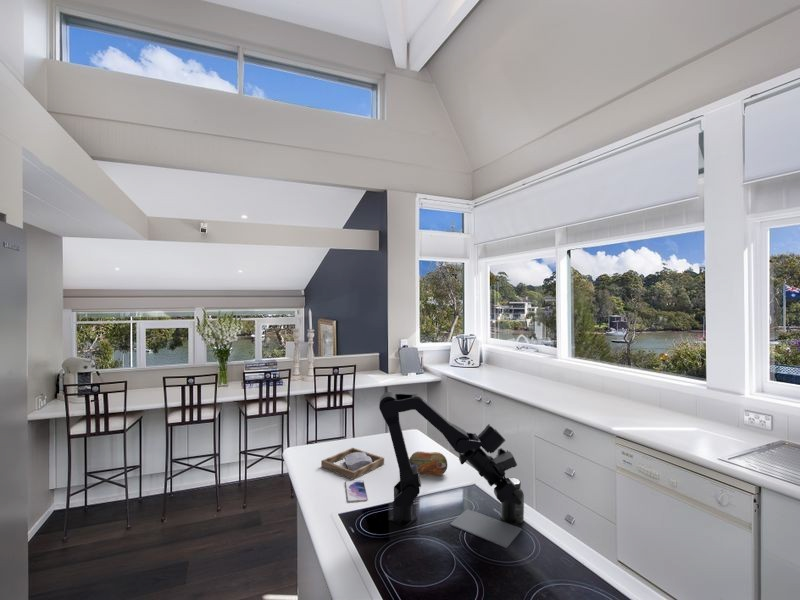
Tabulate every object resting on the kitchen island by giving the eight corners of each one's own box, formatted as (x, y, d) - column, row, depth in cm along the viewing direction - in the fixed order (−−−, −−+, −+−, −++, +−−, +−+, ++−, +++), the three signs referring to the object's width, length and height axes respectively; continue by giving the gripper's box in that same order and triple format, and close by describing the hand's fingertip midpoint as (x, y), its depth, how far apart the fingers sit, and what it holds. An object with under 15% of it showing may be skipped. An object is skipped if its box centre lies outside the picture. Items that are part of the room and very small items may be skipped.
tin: (408, 474, 157) (408, 452, 157) (409, 470, 160) (409, 449, 160) (447, 476, 155) (447, 455, 155) (447, 473, 158) (447, 451, 158)
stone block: (351, 477, 157) (375, 468, 162) (349, 466, 157) (372, 457, 161) (342, 467, 168) (365, 458, 172) (340, 456, 168) (362, 447, 172)
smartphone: (363, 479, 151) (368, 499, 136) (363, 482, 151) (368, 502, 136) (344, 481, 149) (347, 501, 134) (344, 483, 149) (347, 503, 134)
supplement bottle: (523, 515, 128) (523, 477, 128) (523, 526, 121) (524, 487, 121) (501, 511, 130) (501, 474, 130) (500, 523, 123) (501, 484, 123)
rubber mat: (506, 548, 111) (506, 546, 111) (450, 525, 122) (450, 523, 122) (521, 530, 120) (521, 528, 120) (467, 509, 131) (467, 508, 131)
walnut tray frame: (353, 479, 152) (353, 472, 152) (321, 466, 163) (321, 460, 163) (384, 464, 166) (384, 458, 166) (352, 453, 177) (352, 447, 177)
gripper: (509, 456, 116) (546, 494, 116) (492, 434, 135) (525, 467, 135) (481, 483, 116) (519, 521, 116) (469, 457, 134) (501, 490, 135)
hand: (516, 497), depth 126 cm, fingers closed on supplement bottle, 7 cm apart
